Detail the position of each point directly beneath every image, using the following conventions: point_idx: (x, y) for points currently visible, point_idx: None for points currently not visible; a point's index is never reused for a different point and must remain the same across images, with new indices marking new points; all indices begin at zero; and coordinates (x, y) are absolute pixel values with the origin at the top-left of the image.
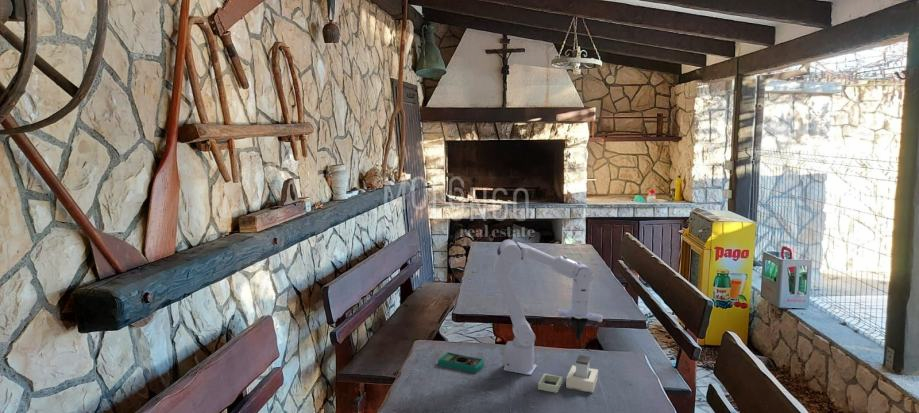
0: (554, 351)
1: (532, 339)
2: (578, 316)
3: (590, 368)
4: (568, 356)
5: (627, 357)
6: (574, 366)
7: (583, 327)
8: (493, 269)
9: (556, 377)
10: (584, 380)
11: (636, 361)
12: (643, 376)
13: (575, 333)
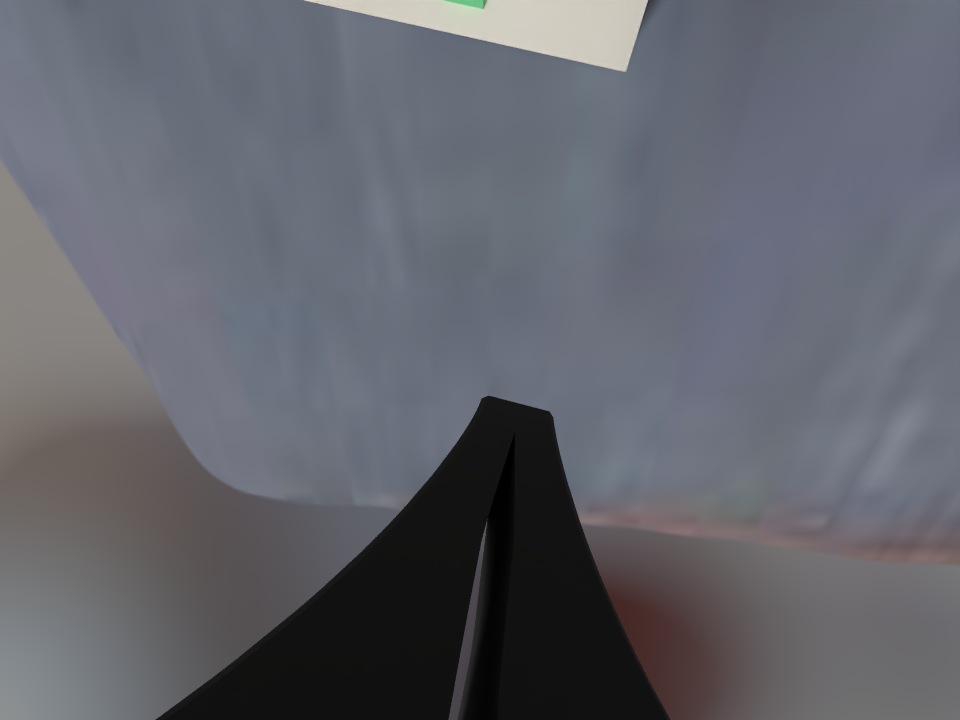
0: (686, 494)
1: None
2: None
3: (393, 15)
4: (595, 435)
5: (240, 440)
6: (603, 29)
7: (296, 630)
8: None
9: None
10: None
11: (182, 399)
12: (58, 188)
13: (571, 503)
